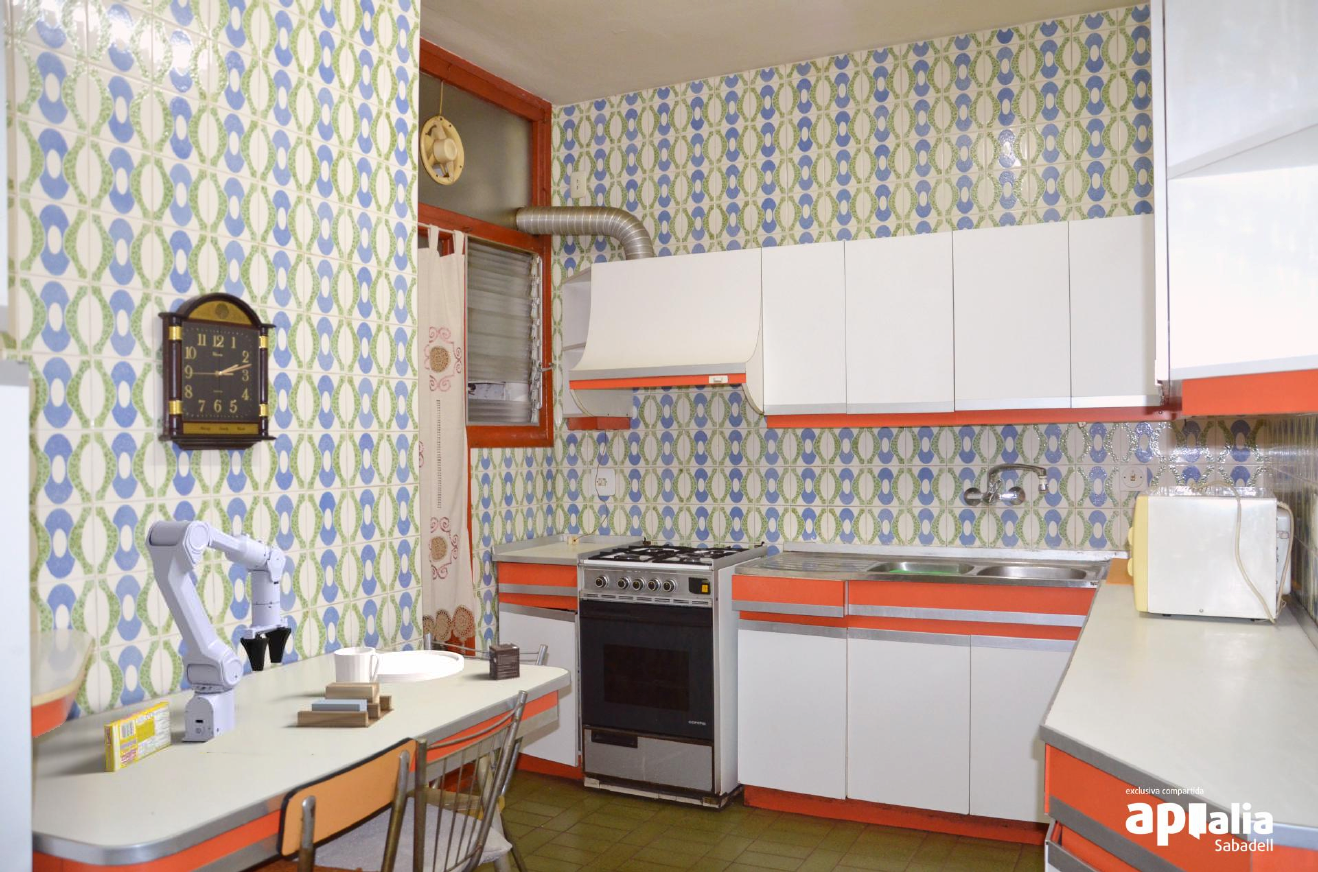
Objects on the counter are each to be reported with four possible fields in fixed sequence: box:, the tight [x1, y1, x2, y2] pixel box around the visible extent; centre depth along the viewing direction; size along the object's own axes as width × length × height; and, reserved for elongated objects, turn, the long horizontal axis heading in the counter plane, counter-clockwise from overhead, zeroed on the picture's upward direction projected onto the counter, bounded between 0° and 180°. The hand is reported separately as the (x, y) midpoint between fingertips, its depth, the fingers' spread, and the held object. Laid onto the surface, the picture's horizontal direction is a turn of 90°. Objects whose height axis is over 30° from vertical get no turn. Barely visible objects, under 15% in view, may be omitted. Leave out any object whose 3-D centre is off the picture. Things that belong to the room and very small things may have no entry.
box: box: [488, 642, 521, 681], centre depth 245 cm, size 6×6×7 cm
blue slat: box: [311, 698, 367, 711], centre depth 204 cm, size 4×10×4 cm, turn 84°
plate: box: [374, 649, 465, 684], centre depth 255 cm, size 28×28×2 cm
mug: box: [333, 646, 381, 682], centre depth 228 cm, size 11×9×10 cm
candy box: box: [103, 701, 172, 773], centre depth 186 cm, size 16×2×8 cm, turn 172°
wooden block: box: [325, 681, 380, 703], centre depth 210 cm, size 4×10×6 cm, turn 84°
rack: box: [294, 695, 395, 729], centre depth 207 cm, size 14×15×4 cm
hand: (267, 666), depth 215 cm, fingers open, 7 cm apart
